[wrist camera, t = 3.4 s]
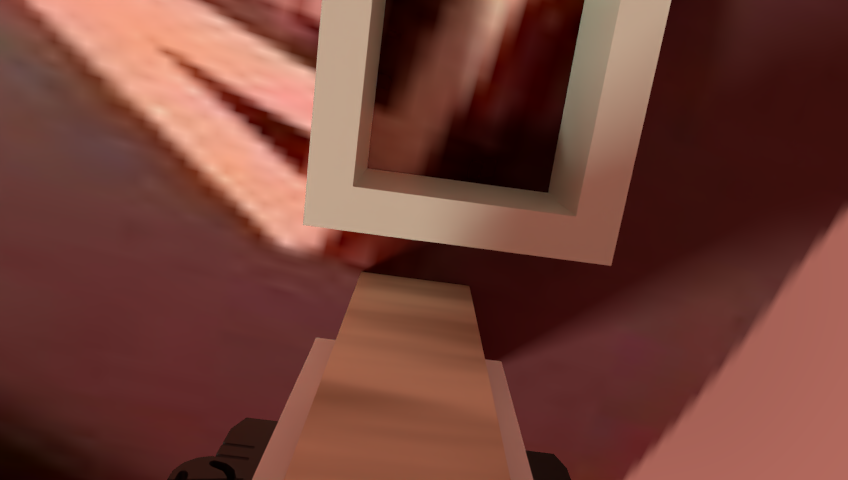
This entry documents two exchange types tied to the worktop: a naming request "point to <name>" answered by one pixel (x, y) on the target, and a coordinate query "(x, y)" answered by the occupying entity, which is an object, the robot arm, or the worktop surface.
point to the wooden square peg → (403, 391)
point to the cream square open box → (480, 203)
